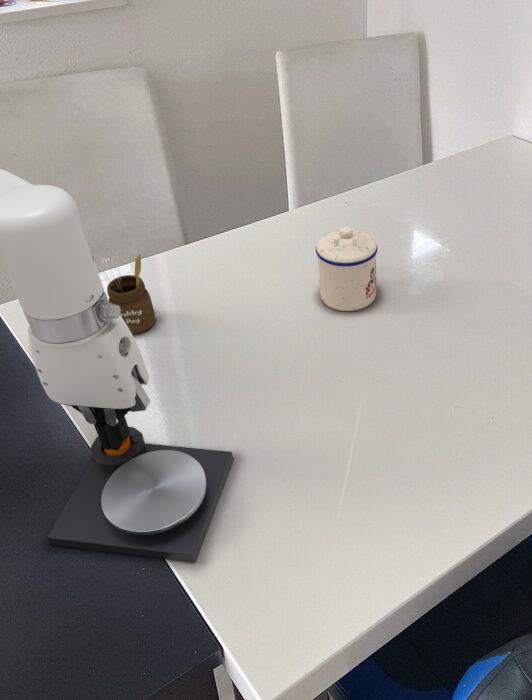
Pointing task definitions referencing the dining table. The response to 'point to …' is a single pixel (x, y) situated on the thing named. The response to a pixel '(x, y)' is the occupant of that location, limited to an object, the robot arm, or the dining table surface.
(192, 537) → the scale
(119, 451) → the tare button
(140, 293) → the utensil holder
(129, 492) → the brushed metal disc
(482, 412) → the dining table surface
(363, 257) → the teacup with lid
